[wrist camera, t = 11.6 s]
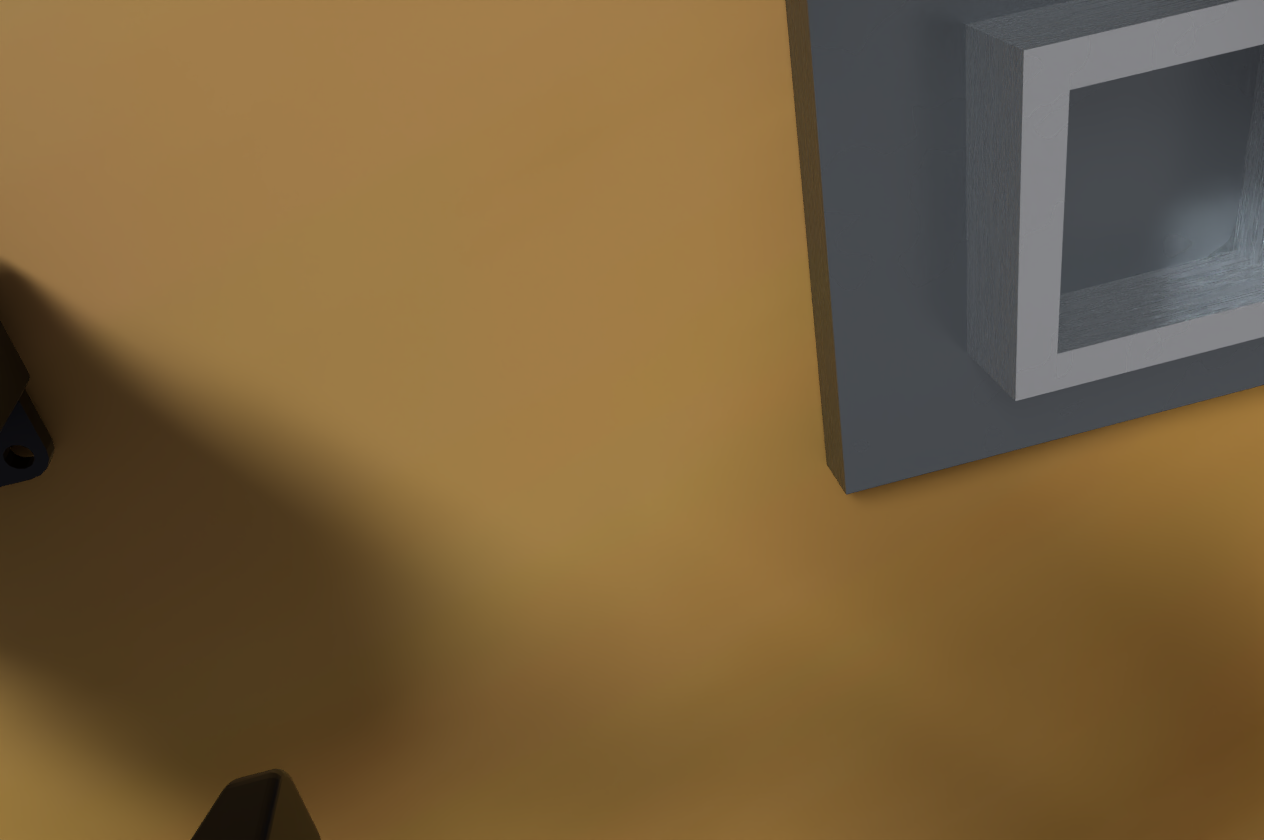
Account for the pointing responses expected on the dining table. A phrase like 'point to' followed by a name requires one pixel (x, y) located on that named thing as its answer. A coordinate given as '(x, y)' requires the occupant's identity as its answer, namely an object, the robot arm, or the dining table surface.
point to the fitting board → (1025, 218)
